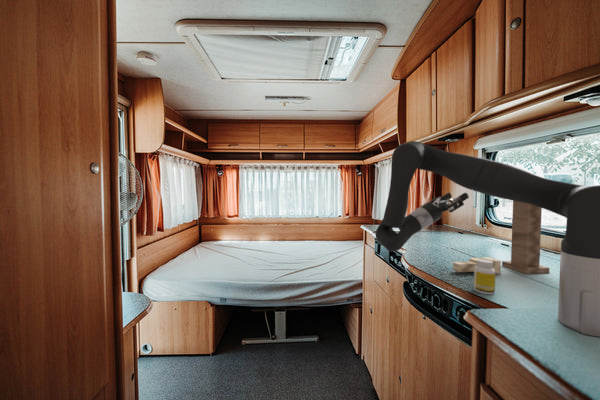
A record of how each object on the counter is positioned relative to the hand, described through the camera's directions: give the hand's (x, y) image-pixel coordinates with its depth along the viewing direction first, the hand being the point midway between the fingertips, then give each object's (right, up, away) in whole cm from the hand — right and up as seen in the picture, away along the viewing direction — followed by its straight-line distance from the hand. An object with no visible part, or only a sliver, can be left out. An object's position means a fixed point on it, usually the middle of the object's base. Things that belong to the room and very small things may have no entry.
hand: (458, 194), depth 93 cm
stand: (+30, -30, +5) cm, 43 cm away
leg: (+7, -31, +1) cm, 31 cm away
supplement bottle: (-3, -31, -17) cm, 36 cm away
